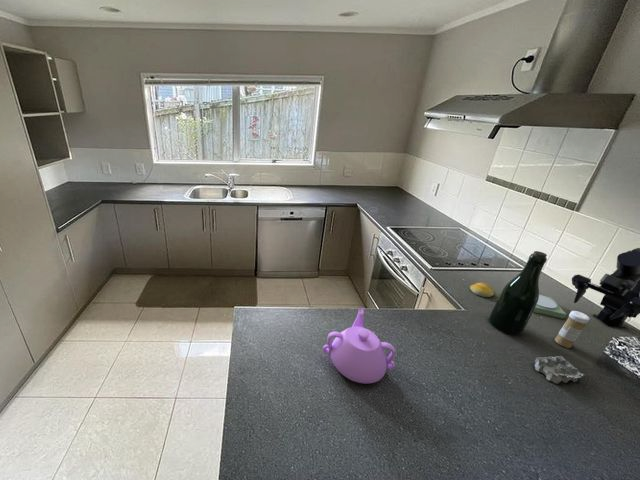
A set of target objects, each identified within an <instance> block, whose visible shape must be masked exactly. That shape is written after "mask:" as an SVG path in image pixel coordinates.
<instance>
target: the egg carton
mask: <svg viewBox="0 0 640 480" xmlns="http://www.w3.org/2000/svg"><path fill="white" fill-rule="evenodd" d="M534 362H535V364H534V367H535V371H536V372H537V373H542V374H543V375H544V376H546V377H545V379H546V380H547V381H549V382H552V383H554V384H556V385H557V384H560V383H562V382H563V383H564V384H565V383H568V382H569V381H571V382H573V383H576V382H578V379H580V378H583V376H584V373H581V372H580V371H579V369H578V368H577V367H575V365H573V364H572V363H571V362H570V361H567V359H566V358H565V357H563V355H559V356H558V355H557V356H544V357H543V356H542V357H541V356H537V357H535V359H534Z"/></svg>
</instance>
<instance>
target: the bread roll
mask: <svg viewBox="0 0 640 480" xmlns="http://www.w3.org/2000/svg"><path fill="white" fill-rule="evenodd" d="M469 289H470V291H471V292H472V293H474V294H475V295H477V296H479V297H482V298H483V297H484V298H490V297H492V296H494V295H495V290H494V288H493V287H492V286H491V285H489V284H488V283H485V282H476V283H474V284H471V285H470V286H469Z"/></svg>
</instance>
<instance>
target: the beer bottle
mask: <svg viewBox="0 0 640 480" xmlns="http://www.w3.org/2000/svg"><path fill="white" fill-rule="evenodd" d="M547 257H548V254H547V253H546V252H542V251H539V250H538V251H537V250H535V251H533V253H531V254H530V255H529V257H528V259H527V262H526V263H525V264H524V267H523V269H522V270H521V271H520V272H519V273H518V274H517V275H515V277H513V278H512V279H511V280H509V281H508V282H507V283H506V284H505V285H504V287H503V288H502V290H501V292H500V293H499V296H498V298H497V300H496V301H495V303H494V306H493V308H492V310H491V312H490V314H489V316H488V321H489V323H490V324H491V325H492V326H493V327H494V328H496V329H497V330H499V331H501V332H503V333H505V334H508V335H513V336H518V335H521V334H523V332H524V331H525V329H526V327H527V326H528V323H529V321H530V319H531V317H532V315H533V313H534V312H533V311H534V309H535V307H536V304H537V302H538V299H539V295H540V285H539V284H540V282H539V281H540V275H541V273H542V270H543V268H544V266H545V264H546V263H547V261H548V260H547Z"/></svg>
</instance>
